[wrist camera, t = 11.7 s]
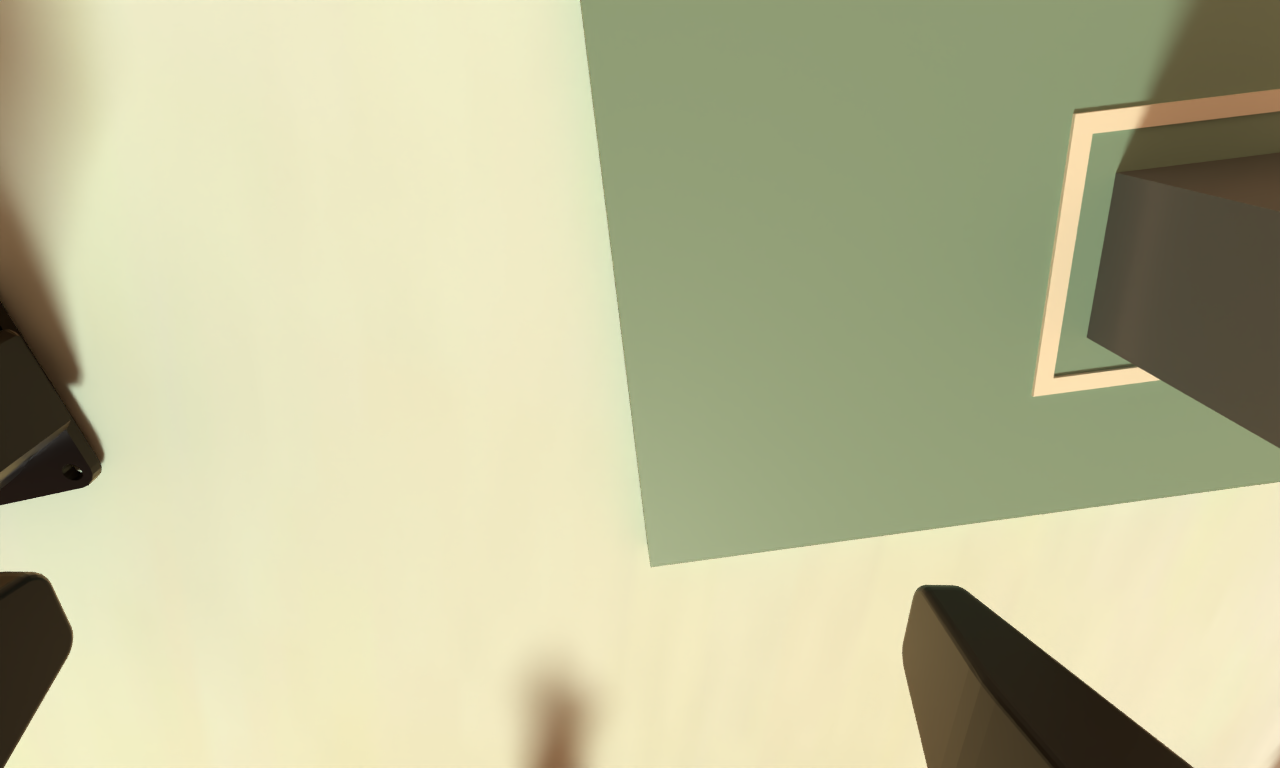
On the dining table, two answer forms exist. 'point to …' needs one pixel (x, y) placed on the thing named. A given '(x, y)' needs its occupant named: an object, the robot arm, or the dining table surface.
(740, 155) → the board
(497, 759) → the dining table surface
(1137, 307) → the plug block
